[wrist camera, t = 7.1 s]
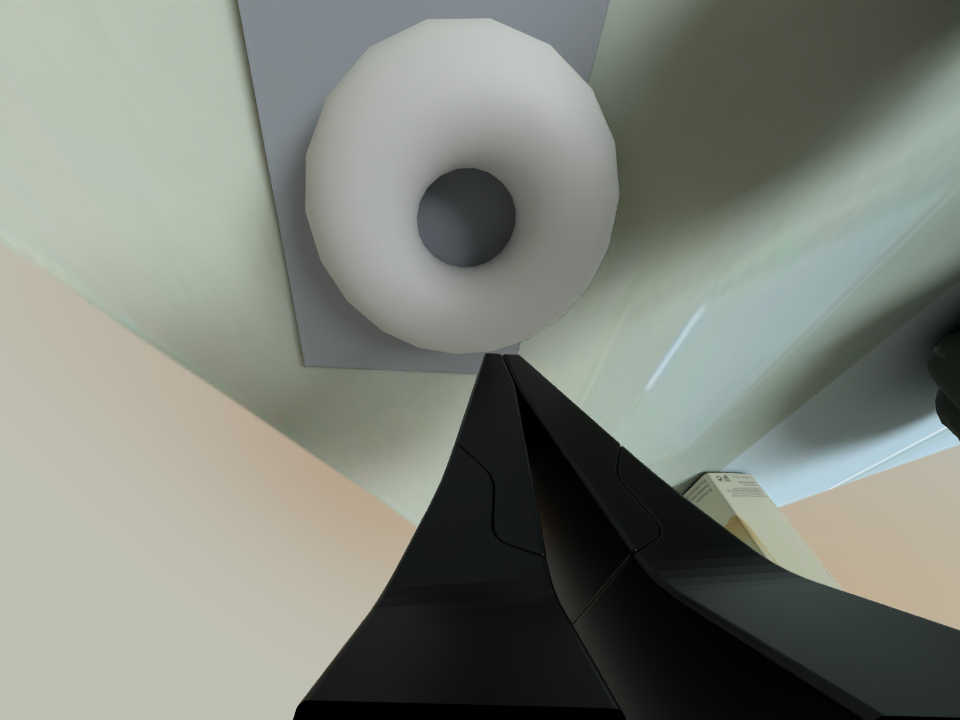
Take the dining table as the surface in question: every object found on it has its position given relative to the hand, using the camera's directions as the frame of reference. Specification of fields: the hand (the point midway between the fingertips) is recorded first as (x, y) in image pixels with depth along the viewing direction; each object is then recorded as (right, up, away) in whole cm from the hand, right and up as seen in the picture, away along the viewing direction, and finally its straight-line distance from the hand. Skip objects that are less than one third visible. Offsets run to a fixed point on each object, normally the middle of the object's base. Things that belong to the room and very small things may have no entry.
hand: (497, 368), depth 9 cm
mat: (-3, +5, +5) cm, 8 cm away
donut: (+3, +2, +6) cm, 7 cm away
